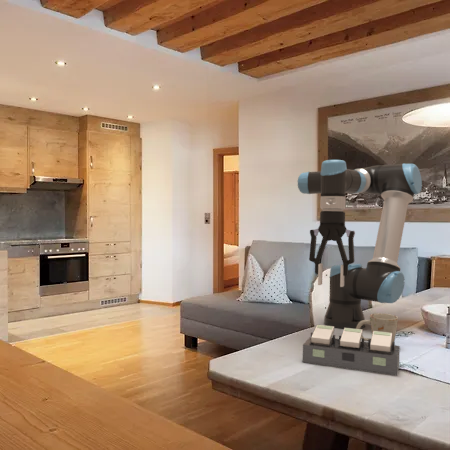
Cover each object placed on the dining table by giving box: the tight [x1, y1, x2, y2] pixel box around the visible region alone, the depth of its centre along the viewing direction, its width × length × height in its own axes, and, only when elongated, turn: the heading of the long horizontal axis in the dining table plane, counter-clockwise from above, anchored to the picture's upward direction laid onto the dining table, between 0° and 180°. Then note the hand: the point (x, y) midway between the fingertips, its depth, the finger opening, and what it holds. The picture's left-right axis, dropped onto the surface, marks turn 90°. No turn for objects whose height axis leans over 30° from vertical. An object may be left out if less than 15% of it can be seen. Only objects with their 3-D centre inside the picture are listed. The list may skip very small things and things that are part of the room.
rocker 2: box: [340, 328, 363, 348], centre depth 130 cm, size 8×5×2 cm, turn 157°
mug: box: [356, 312, 399, 345], centre depth 147 cm, size 8×13×10 cm, turn 78°
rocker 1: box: [310, 324, 335, 344], centre depth 133 cm, size 8×5×2 cm, turn 157°
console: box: [302, 331, 401, 377], centre depth 130 cm, size 11×25×7 cm, turn 67°
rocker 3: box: [370, 331, 392, 352], centre depth 127 cm, size 8×5×2 cm, turn 157°
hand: (331, 285), depth 143 cm, fingers open, 6 cm apart
